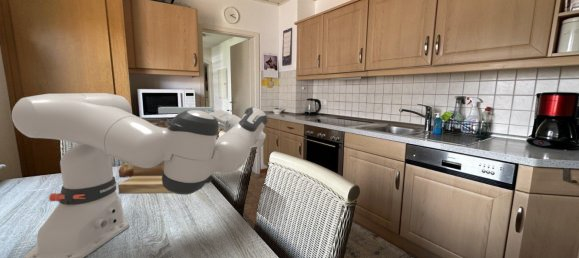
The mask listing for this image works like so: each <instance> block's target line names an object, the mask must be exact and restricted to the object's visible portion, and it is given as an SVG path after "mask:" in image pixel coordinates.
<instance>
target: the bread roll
mask: <svg viewBox="0 0 579 258" xmlns="http://www.w3.org/2000/svg"><path fill="white" fill-rule="evenodd" d="M118 175H119V176H120V177H121V178H130V177H132V176H134V172H133V165H130V164H128V163H125V162H123V164H122V165H121V166H120V167H119V169H118Z"/></svg>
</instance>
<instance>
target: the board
mask: <svg viewBox="0 0 579 258" xmlns="http://www.w3.org/2000/svg"><path fill="white" fill-rule="evenodd" d="M117 186H118V193H119V194H159V193H161V194H162V193H163V194H165V193H166V194H167V193H169V194H170V193H171V194H173V193H172V192H170V191H168V190H167V189H166V188H165V187H164V186H163V184H162V176H131V177H128V178H127V179H126V180H123V181H121V182H120V183H118V184H117Z"/></svg>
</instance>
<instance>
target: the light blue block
mask: <svg viewBox="0 0 579 258" xmlns="http://www.w3.org/2000/svg"><path fill="white" fill-rule="evenodd" d="M202 108H205V109H206V110H207V111H209V112H213V110H214V109H213V106H160V107H158V108H157V109H158V114H180V113H182V112H184V111H191V110H199V111H201V109H202Z"/></svg>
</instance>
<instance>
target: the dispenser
mask: <svg viewBox="0 0 579 258" xmlns="http://www.w3.org/2000/svg"><path fill="white" fill-rule="evenodd" d="M140 118H142V119H144V120H146V121H148V122H149V123H151V124H153V125H155V126H158V127H162V128H168V127H170V126H169V125H168V124H167V123H166V122H167V120H168V119H169V117H164V116H163V117H160V116H159V117H158V116H157V117H152V116H151V117H140ZM164 164H165V160H164V161H163V162H161V163H160V164H159V165H157V166H154V167H151V168H142V167H137V166H134V165H133V172H134V176H162V171H163V170H164Z"/></svg>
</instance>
